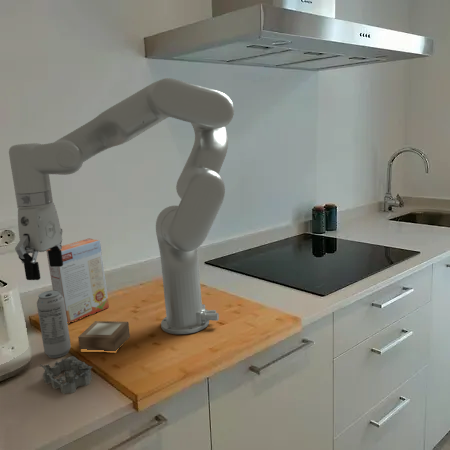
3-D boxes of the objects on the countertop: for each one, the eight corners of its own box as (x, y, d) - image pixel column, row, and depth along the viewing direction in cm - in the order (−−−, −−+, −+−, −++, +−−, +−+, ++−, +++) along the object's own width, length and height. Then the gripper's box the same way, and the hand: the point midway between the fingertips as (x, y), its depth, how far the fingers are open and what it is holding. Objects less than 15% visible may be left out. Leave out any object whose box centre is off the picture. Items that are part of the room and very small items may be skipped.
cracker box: (97, 304, 144) (88, 237, 140) (109, 308, 140) (101, 239, 136) (56, 320, 134) (45, 249, 129) (68, 325, 130) (57, 251, 126)
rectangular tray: (130, 336, 120) (128, 321, 120) (115, 353, 112) (113, 337, 111) (97, 335, 122) (95, 320, 121) (80, 352, 114) (78, 336, 113)
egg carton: (39, 381, 102) (37, 364, 101) (71, 367, 107) (69, 350, 107) (64, 398, 95) (61, 379, 94) (97, 382, 100) (94, 364, 99)
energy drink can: (74, 346, 117) (66, 288, 114) (66, 358, 111) (57, 297, 108) (50, 347, 117) (41, 290, 114) (40, 359, 111) (31, 299, 108)
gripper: (27, 206, 97) (39, 285, 101) (69, 193, 114) (78, 261, 117) (-6, 207, 99) (7, 285, 102) (40, 194, 115) (50, 261, 119)
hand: (45, 272), depth 110 cm, fingers open, 9 cm apart
